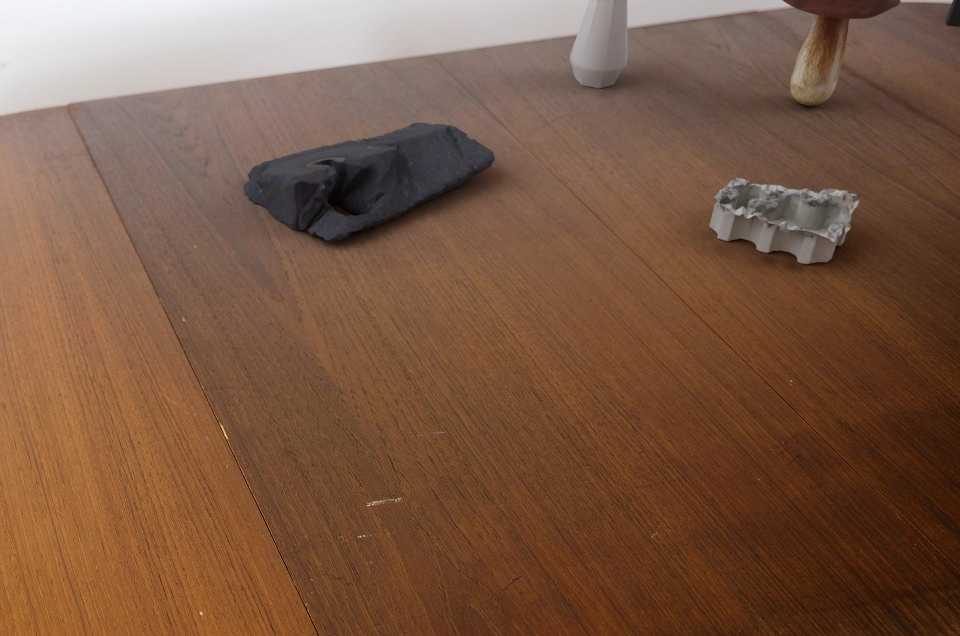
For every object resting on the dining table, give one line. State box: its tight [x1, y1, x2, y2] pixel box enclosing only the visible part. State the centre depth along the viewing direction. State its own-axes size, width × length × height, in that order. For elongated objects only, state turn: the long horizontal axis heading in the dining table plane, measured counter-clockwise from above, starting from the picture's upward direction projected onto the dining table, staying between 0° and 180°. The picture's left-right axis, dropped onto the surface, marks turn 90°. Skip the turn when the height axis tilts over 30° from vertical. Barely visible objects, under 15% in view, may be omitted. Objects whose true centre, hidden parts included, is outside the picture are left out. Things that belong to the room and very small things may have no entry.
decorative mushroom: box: [782, 0, 901, 107], centre depth 121 cm, size 11×11×15 cm
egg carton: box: [709, 176, 861, 265], centre depth 105 cm, size 11×8×4 cm
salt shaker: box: [569, 0, 629, 89], centre depth 127 cm, size 6×6×13 cm
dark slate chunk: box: [243, 122, 496, 243], centre depth 113 cm, size 15×22×5 cm
